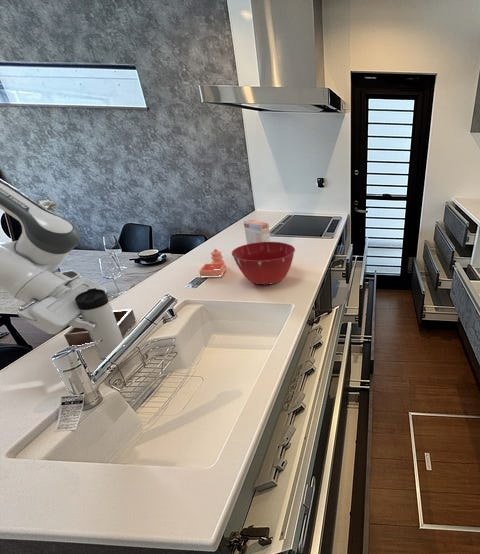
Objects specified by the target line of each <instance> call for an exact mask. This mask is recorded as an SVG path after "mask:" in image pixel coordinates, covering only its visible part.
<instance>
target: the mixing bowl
mask: <svg viewBox="0 0 480 554" xmlns="http://www.w3.org/2000/svg"><path fill="white" fill-rule="evenodd" d="M295 252H296V248H295V247H294V246H293V245H291V244H290V243H286V242H280V241H270V242H258V243H251V244H247V243H245V244H243V245H240V246H238V247H236V248H234V249H233V250H232V251H231V256H232V257H233V259H234V261H235V263H236V265H237V267H238V269H239V270H240V272H241V273H242V275H243V276H244V277H245V279H246V280H247V281H249V282H251V283H253V284H255V283H256V284H255V285H258V284H270V283H275V282H277V283H279V282H281V281H282V280H284V279H285V278H286V276H287V275H288V274H289V271H290V269H291V267H292V264H293V260H294V255H295ZM280 280H281V281H280ZM278 281H279V282H278ZM275 284H276V283H275Z"/></svg>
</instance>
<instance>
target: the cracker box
mask: <svg viewBox="0 0 480 554" xmlns="http://www.w3.org/2000/svg"><path fill="white" fill-rule="evenodd" d="M269 226H270V225H269V222H264V221H258V220H253V219H249V220H245V221H243V227H244V234H245V241H246V244H251V243H258V242H271V236H270V228H269Z"/></svg>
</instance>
